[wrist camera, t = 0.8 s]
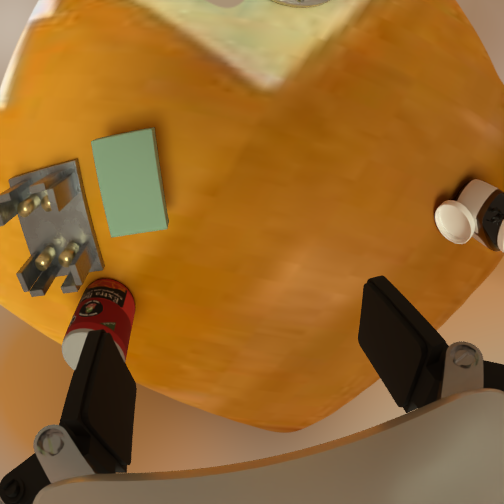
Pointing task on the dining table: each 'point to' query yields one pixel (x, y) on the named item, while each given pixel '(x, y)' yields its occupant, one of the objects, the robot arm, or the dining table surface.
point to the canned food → (100, 318)
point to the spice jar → (474, 215)
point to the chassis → (53, 227)
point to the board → (131, 182)
